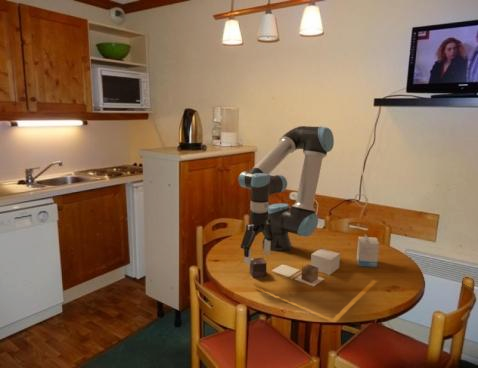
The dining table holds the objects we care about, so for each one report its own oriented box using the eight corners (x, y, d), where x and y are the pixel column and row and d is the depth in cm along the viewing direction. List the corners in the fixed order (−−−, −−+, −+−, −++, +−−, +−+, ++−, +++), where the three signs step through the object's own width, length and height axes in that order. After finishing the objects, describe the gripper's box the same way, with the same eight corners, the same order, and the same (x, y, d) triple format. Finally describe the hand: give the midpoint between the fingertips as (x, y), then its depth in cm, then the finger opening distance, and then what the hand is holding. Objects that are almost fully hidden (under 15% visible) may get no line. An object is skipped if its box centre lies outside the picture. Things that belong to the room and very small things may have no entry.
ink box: (377, 267, 160) (380, 240, 157) (358, 265, 161) (361, 238, 159) (374, 260, 168) (376, 233, 165) (356, 258, 170) (358, 232, 167)
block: (301, 279, 145) (301, 268, 144) (307, 275, 149) (307, 264, 148) (311, 283, 142) (312, 271, 141) (317, 278, 146) (318, 267, 145)
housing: (310, 270, 156) (311, 254, 154) (320, 264, 163) (321, 248, 161) (329, 277, 150) (330, 260, 148) (338, 270, 157) (340, 253, 155)
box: (266, 279, 147) (266, 263, 146) (252, 280, 146) (253, 264, 145) (262, 272, 153) (262, 257, 152) (249, 274, 152) (249, 258, 150)
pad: (271, 271, 153) (271, 270, 153) (282, 264, 159) (282, 264, 159) (288, 277, 147) (288, 277, 147) (299, 270, 154) (299, 270, 154)
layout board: (268, 273, 152) (268, 271, 152) (285, 263, 162) (285, 261, 162) (312, 290, 138) (313, 288, 138) (329, 278, 148) (329, 276, 148)
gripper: (247, 218, 132) (245, 270, 136) (283, 207, 151) (281, 253, 155) (232, 214, 137) (231, 265, 141) (269, 203, 155) (267, 248, 159)
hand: (257, 258), depth 148 cm, fingers open, 13 cm apart
